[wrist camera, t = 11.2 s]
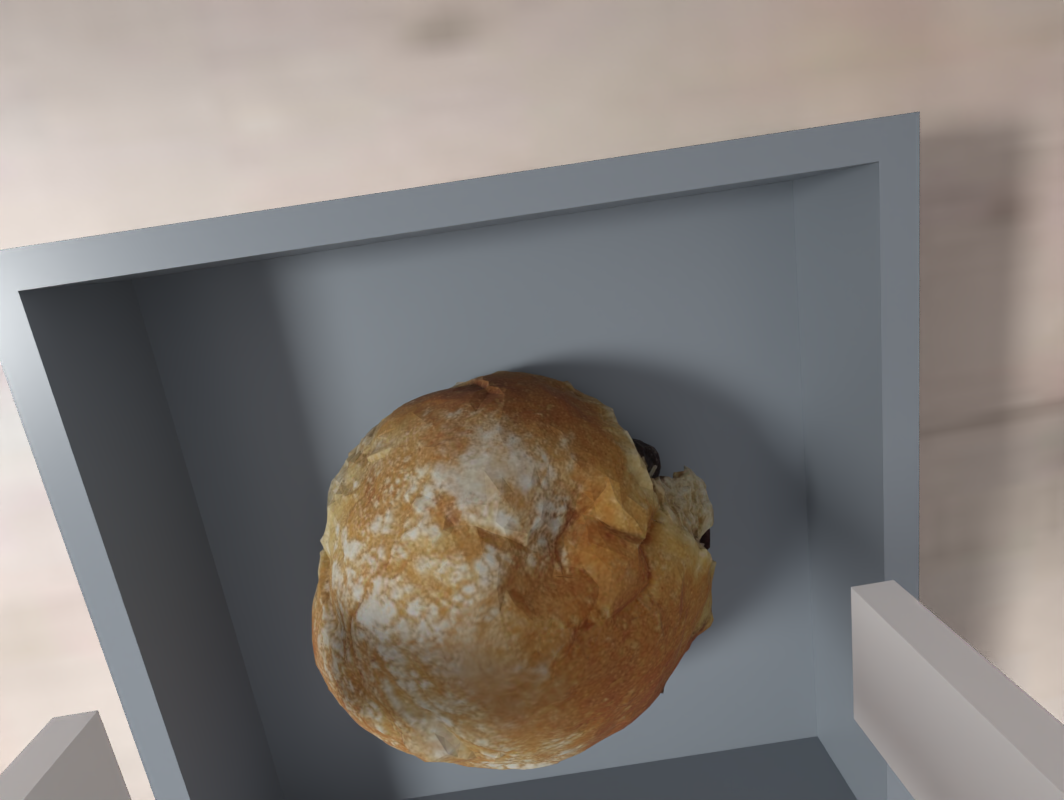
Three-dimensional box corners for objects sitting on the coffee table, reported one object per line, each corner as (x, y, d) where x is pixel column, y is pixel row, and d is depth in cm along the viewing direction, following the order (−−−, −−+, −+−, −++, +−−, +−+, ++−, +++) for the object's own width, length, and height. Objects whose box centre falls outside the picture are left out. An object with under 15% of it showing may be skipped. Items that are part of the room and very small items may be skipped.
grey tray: (277, 824, 21) (217, 975, 17) (105, 251, 17) (-37, 255, 12) (833, 739, 21) (918, 867, 17) (811, 145, 17) (919, 111, 12)
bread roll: (421, 335, 20) (210, 371, 13) (758, 388, 17) (718, 478, 10) (409, 612, 23) (223, 771, 16) (701, 712, 19) (634, 982, 12)
